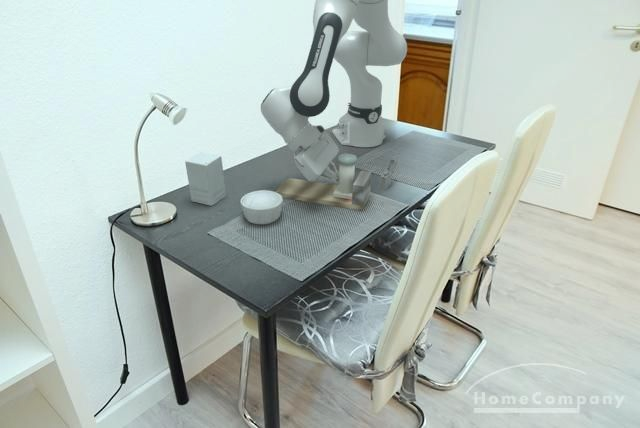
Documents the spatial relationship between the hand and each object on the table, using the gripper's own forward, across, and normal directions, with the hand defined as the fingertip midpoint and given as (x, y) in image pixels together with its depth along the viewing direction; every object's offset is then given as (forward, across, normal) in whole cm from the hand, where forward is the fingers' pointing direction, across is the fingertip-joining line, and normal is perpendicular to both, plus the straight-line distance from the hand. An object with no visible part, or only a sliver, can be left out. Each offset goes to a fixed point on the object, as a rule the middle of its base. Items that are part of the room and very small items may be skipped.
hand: (337, 178), depth 129 cm
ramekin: (-6, -17, +16) cm, 24 cm away
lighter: (+13, +13, -4) cm, 19 cm away
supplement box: (-20, -13, +30) cm, 38 cm away
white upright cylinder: (+5, 0, +1) cm, 5 cm away
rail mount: (+2, 0, +7) cm, 7 cm away
